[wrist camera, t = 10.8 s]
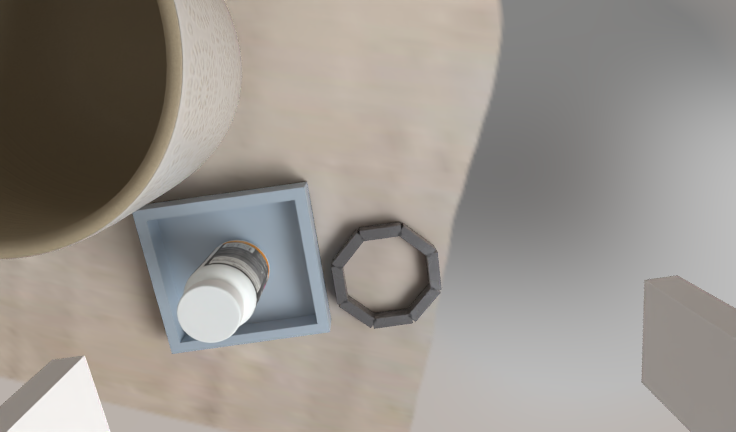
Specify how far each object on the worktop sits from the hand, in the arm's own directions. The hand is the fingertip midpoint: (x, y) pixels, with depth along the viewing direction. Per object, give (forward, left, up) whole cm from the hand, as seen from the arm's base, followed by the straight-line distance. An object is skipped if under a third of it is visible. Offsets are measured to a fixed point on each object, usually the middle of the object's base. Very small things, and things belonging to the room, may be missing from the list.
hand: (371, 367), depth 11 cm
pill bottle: (+8, -12, -31) cm, 35 cm away
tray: (+8, -12, -32) cm, 35 cm away
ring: (+11, +1, -32) cm, 34 cm away
